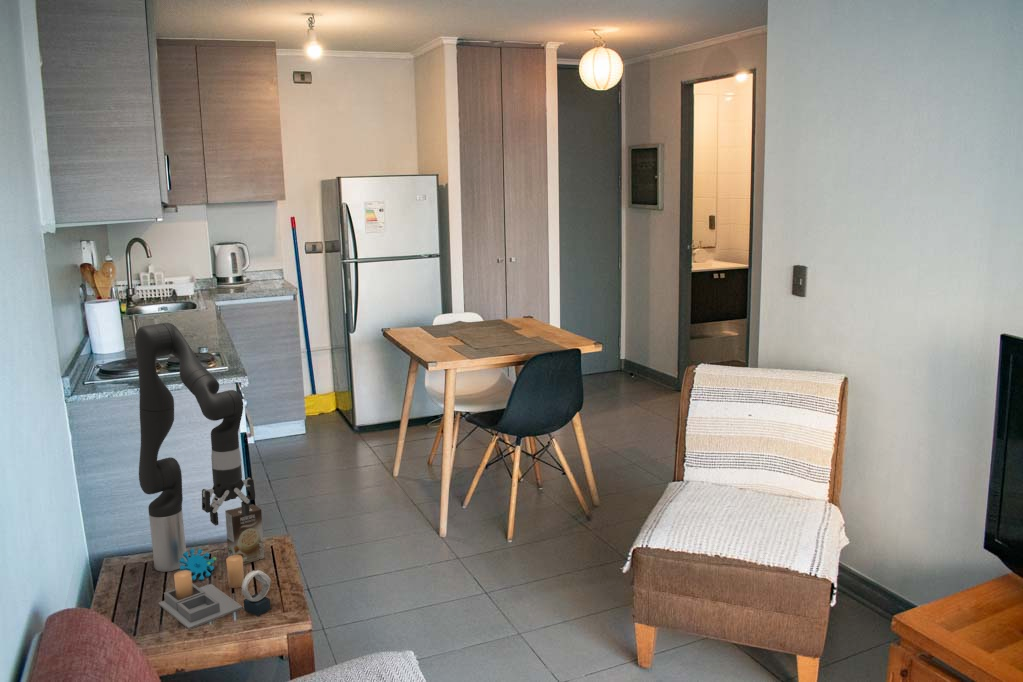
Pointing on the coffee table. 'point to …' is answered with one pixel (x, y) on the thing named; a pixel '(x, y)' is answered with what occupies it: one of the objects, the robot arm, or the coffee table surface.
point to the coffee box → (245, 533)
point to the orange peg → (235, 571)
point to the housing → (196, 602)
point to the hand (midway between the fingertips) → (230, 519)
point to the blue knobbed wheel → (197, 564)
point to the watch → (256, 602)
